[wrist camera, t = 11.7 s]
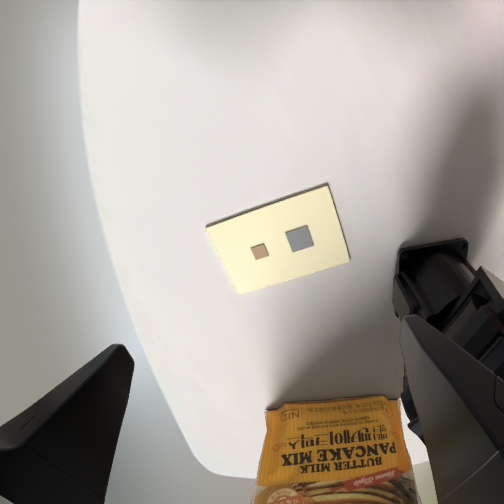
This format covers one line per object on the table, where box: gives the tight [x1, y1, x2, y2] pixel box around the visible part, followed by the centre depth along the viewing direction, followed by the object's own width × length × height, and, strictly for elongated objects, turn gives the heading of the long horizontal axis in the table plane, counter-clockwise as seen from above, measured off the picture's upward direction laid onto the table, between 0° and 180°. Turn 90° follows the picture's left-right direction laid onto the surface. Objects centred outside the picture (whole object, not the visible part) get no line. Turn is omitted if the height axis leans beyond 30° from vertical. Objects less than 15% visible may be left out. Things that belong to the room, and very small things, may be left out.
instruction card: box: [205, 186, 350, 295], centre depth 21 cm, size 9×6×1 cm, turn 112°
